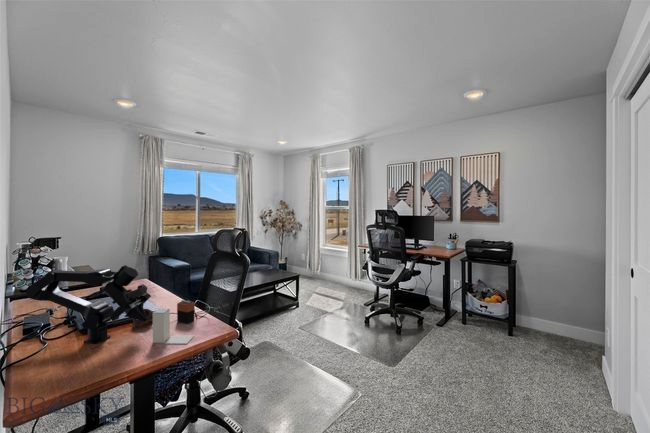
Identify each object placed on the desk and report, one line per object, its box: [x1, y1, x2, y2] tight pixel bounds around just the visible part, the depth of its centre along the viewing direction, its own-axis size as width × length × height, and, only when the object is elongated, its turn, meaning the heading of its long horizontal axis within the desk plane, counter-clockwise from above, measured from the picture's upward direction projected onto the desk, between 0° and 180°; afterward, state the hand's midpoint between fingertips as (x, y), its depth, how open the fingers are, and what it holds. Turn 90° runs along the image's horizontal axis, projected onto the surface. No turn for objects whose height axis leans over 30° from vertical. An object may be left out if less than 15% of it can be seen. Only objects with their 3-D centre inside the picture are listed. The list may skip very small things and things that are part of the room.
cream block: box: [152, 308, 171, 344], centre depth 120 cm, size 4×4×12 cm
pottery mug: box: [132, 308, 154, 329], centre depth 136 cm, size 12×10×8 cm
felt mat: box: [163, 334, 195, 345], centre depth 121 cm, size 9×7×1 cm
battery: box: [176, 299, 195, 325], centre depth 140 cm, size 4×7×10 cm, turn 69°
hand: (146, 320), depth 120 cm, fingers closed
